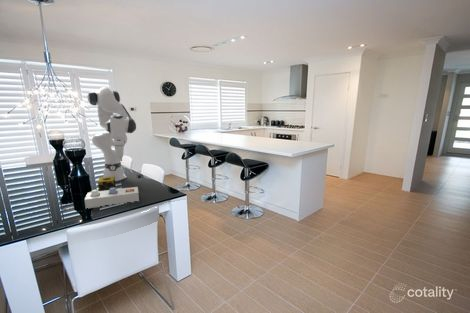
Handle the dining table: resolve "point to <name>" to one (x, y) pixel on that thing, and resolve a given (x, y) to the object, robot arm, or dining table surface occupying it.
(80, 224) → the dining table surface
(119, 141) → the robot arm
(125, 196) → the console
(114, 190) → the key blue
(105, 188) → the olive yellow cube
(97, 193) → the key white
